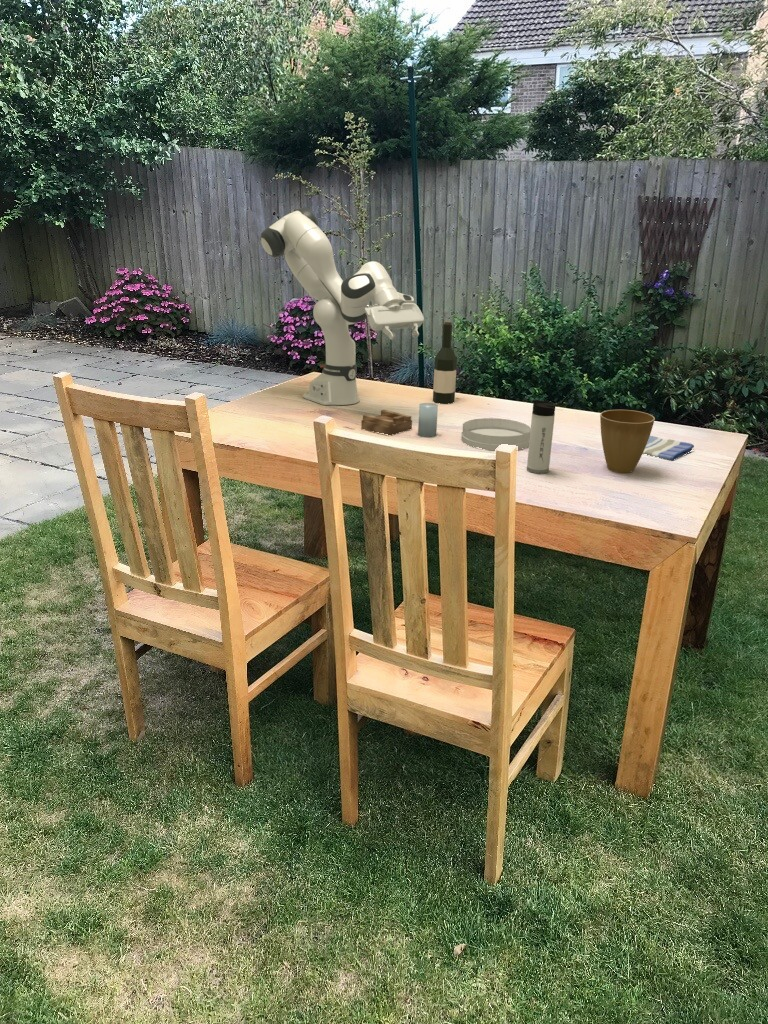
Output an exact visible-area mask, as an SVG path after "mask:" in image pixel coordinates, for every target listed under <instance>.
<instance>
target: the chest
mask: <svg viewBox="0 0 768 1024" xmlns="http://www.w3.org/2000/svg"><path fill="white" fill-rule="evenodd" d="M360 422H361V425H360V427H361V428H360V429H361V430H363V429H365V430H364V431H367V430H370V431H369V432H371V431H374V432H373V433H375V432H379V433H384V434H388V435H391V436H393V435H392V434H394V435H396V433H397V434H400V433H399V432H401V433H404V432H407V431H409V430H410V429H411V430H413V420H412V416H411V415H408V414H403V413H400V412H395V411H391V410H386V409H382V410H380V415H379V414H378V415H376V416H373V415H370V414H363V415H362V420H361V421H360ZM403 431H404V432H403ZM379 433H378V434H379Z"/></svg>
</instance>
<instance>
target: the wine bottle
mask: <svg viewBox="0 0 768 1024" xmlns="http://www.w3.org/2000/svg"><path fill="white" fill-rule="evenodd" d="M452 333H453V323H452V322H451V321H444V322H443V324H442V336H441V337H442V340H441V341H442V343H441V348H440V349H439V351H438V352H437V354H436V355H435V357H434V365H433V366H434V371H433V386H432V387H433V390H432V402H433V401H434V402H433V403H434V404H439V403H440V405H449V404H448V403H452V404H453V402H454V403H455V400H456V399H455V398H456V384H457V383H456V382H457V381H456V379H457V365H458V364H457V363H458V358H457V356H456V354H455V352H454V350H453V348H452V337H453V335H452Z"/></svg>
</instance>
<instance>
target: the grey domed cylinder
mask: <svg viewBox="0 0 768 1024" xmlns="http://www.w3.org/2000/svg"><path fill="white" fill-rule="evenodd" d="M418 407H419V408H418V426H417V428H418V429H417V435H418V436H419V437H421V438H435V437H437V433H438V432H437V430H438V428H437V427H438V426H437V425H438V410H439V409H438V407H439V405H438V403H435V402H433V403H432V402H422V403H419V405H418Z"/></svg>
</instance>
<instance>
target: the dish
mask: <svg viewBox="0 0 768 1024" xmlns="http://www.w3.org/2000/svg"><path fill="white" fill-rule="evenodd" d="M530 430H531V426H530V425H527V424H526V423H525V422H524V423H523V422H521V421H517V420H512V419H506V418H496V417H495V418H493V417H492V418H491V417H489V418H488V417H487V418H485V417H484V418H476V419H475V418H474V419H470V420H467V421H465V422H463V423H462V431H461V435H460V436H461V437H460V440H462V441H461V442H462V443H463V444H464V443H466V444H467V445H466V444H465V445H466V446H468V445H469V446H468V447H471V446H474V447H479V448H482V449H481V450H483V449H485V450H484V451H491V452H496V451H495V449H496V448H497V447H498V446H499V445H501V444H508V445H516V446H518V449H521V450H523V449H522V448H524V449H527V448H529V440H530ZM474 447H473V448H474Z"/></svg>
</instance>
